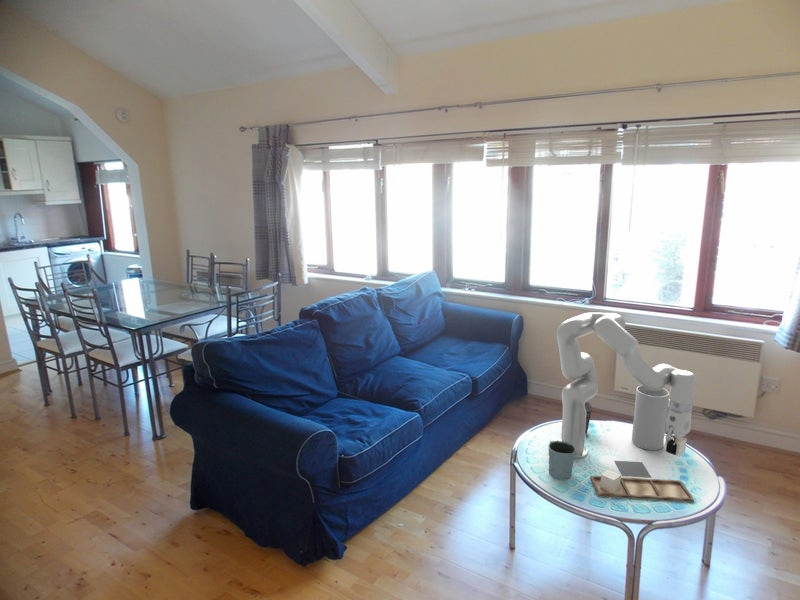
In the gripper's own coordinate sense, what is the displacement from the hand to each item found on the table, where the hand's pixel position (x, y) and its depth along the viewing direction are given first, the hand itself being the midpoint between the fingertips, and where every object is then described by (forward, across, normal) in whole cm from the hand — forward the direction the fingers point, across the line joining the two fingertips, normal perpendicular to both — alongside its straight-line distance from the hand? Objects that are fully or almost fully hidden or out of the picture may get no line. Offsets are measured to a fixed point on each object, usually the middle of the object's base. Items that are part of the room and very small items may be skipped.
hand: (674, 450), depth 182 cm
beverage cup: (+18, +15, +47) cm, 52 cm away
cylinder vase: (+18, +28, +23) cm, 40 cm away
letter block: (+1, 0, 0) cm, 1 cm away
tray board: (+17, -8, +7) cm, 20 cm away
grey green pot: (+18, -22, +32) cm, 43 cm away
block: (+17, -15, +15) cm, 27 cm away
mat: (+17, +3, +16) cm, 24 cm away
